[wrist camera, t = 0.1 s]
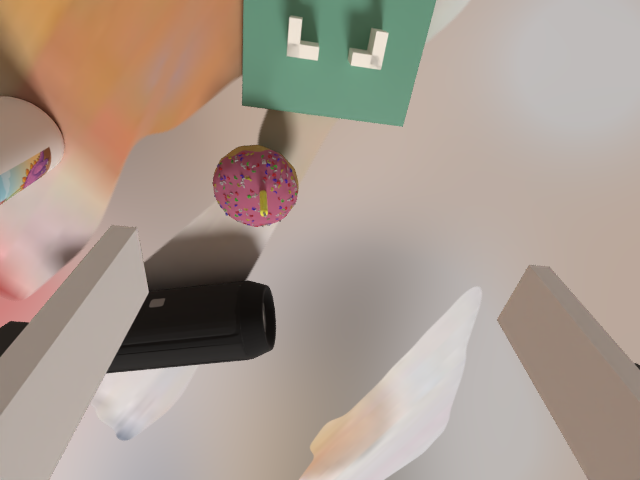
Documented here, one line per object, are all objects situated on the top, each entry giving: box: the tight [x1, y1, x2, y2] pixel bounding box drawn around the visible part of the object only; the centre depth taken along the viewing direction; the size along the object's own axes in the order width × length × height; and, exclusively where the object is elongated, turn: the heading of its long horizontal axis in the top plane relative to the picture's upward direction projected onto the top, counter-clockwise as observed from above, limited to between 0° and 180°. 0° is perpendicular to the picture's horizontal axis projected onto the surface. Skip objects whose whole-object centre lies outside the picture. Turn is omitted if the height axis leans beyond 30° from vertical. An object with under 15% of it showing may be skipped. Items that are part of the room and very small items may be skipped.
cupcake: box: [213, 145, 298, 227], centre depth 35 cm, size 9×8×12 cm
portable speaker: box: [106, 281, 276, 373], centre depth 47 cm, size 26×10×10 cm, turn 97°
